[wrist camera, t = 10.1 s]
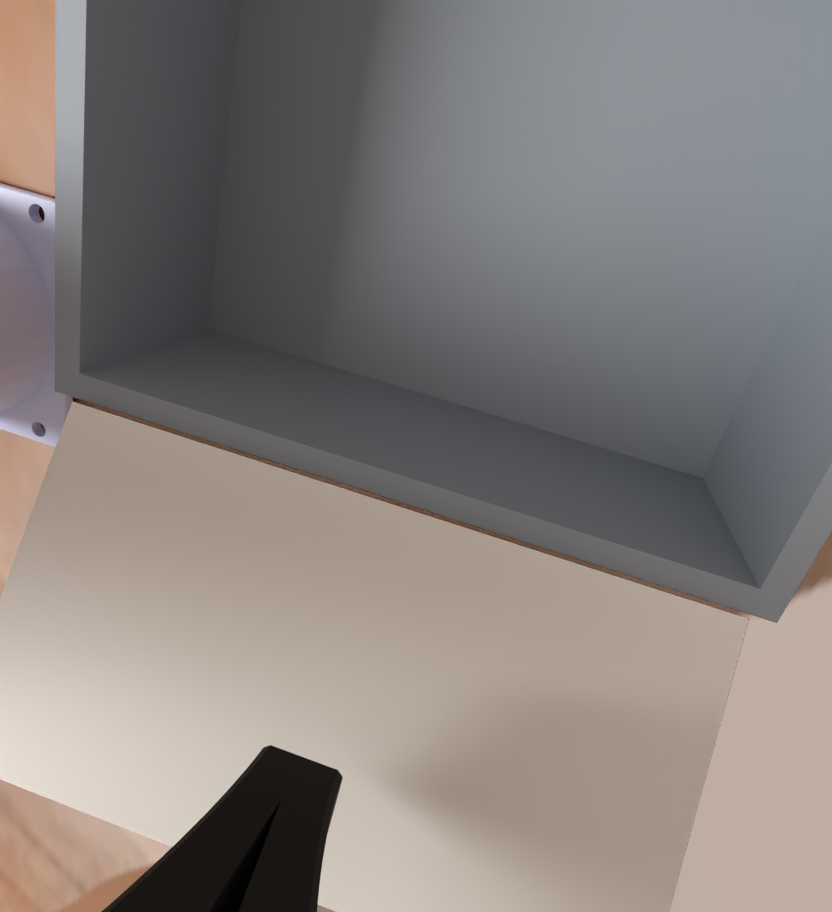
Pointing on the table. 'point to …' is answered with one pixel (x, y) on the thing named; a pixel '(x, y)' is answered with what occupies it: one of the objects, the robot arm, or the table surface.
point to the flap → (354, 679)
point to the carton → (472, 260)
